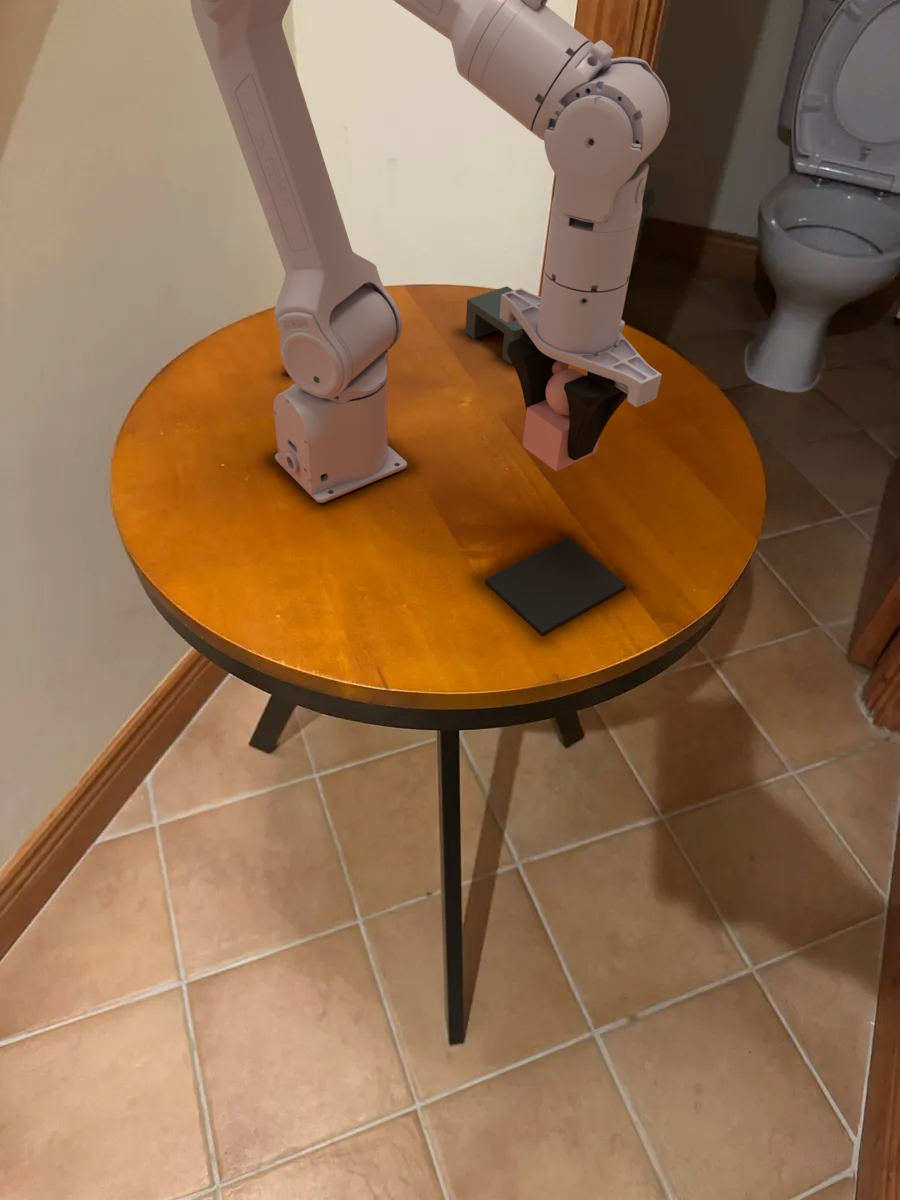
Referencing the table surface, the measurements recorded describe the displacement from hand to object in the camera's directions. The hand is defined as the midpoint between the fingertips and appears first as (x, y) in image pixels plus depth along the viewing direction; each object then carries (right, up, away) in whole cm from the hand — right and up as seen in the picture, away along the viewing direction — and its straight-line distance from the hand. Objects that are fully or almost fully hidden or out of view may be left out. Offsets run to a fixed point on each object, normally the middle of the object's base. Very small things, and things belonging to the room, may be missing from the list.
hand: (560, 439), depth 70 cm
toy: (0, -1, +1) cm, 1 cm away
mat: (0, -11, +2) cm, 12 cm away
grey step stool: (-2, +16, +29) cm, 33 cm away
